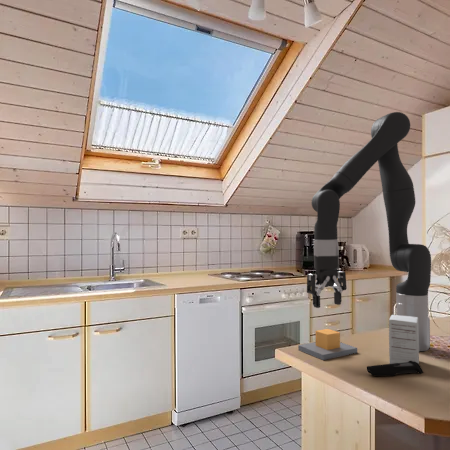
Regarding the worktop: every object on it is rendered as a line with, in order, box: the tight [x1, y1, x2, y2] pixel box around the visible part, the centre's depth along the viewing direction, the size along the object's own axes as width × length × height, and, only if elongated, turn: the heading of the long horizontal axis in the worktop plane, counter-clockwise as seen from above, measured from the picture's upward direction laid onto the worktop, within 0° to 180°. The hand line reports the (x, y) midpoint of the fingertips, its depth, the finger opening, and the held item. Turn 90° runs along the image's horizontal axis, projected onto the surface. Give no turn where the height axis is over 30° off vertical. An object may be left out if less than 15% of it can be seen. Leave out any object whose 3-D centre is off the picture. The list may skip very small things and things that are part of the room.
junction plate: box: [297, 341, 358, 361], centre depth 118 cm, size 14×11×4 cm
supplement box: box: [388, 314, 420, 365], centre depth 108 cm, size 7×7×13 cm
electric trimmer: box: [366, 361, 424, 377], centre depth 99 cm, size 4×16×3 cm, turn 103°
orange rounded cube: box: [314, 328, 341, 350], centre depth 118 cm, size 5×5×5 cm
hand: (327, 305), depth 118 cm, fingers open, 8 cm apart
